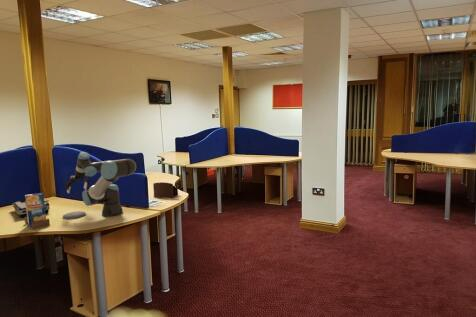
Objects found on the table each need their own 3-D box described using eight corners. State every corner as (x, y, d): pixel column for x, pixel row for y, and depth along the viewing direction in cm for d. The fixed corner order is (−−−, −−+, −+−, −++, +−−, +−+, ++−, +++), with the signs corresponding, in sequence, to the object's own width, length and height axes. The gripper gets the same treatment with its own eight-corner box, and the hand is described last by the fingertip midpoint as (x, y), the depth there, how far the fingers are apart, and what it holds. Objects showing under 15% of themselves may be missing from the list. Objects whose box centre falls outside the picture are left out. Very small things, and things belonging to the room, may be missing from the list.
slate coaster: (89, 215, 270) (89, 213, 270) (67, 220, 259) (67, 219, 259) (81, 211, 281) (80, 210, 281) (59, 216, 270) (59, 214, 270)
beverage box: (27, 225, 251) (24, 195, 248) (45, 221, 257) (41, 192, 254) (29, 227, 245) (25, 197, 242) (47, 224, 252) (43, 194, 249)
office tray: (41, 205, 304) (40, 196, 303) (50, 213, 280) (49, 203, 279) (13, 210, 291) (12, 201, 290) (19, 219, 267) (18, 208, 266)
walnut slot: (50, 225, 249) (49, 218, 248) (32, 229, 241) (31, 222, 240) (41, 220, 262) (41, 213, 261) (25, 224, 254) (24, 217, 253)
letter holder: (173, 198, 315) (172, 182, 313) (153, 197, 321) (152, 182, 319) (178, 195, 324) (177, 180, 323) (159, 194, 330) (158, 180, 328)
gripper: (94, 164, 281) (89, 184, 291) (62, 169, 262) (58, 190, 272) (98, 170, 277) (93, 190, 288) (66, 176, 259) (62, 197, 269)
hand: (76, 190), depth 280 cm, fingers open, 13 cm apart
